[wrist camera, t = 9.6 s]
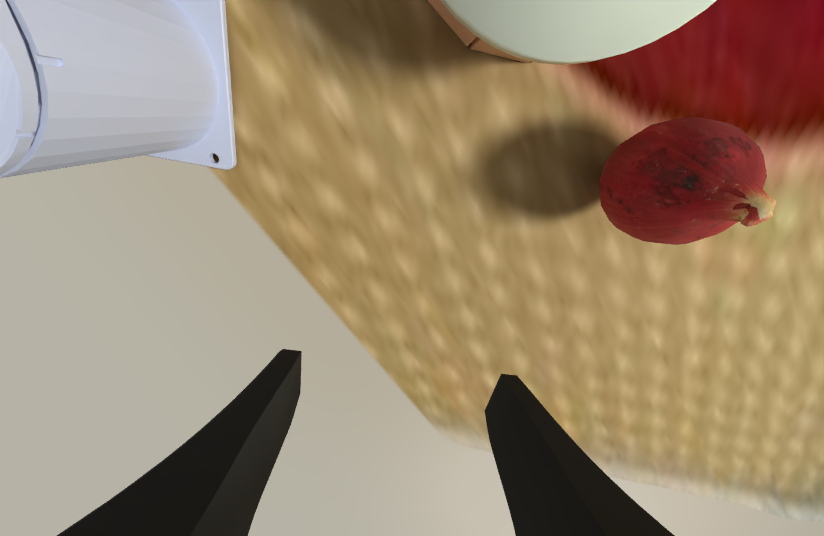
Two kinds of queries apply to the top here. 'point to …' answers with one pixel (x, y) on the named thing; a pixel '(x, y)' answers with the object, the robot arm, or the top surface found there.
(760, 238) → the top surface
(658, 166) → the onion
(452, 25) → the bowl
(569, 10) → the lid
